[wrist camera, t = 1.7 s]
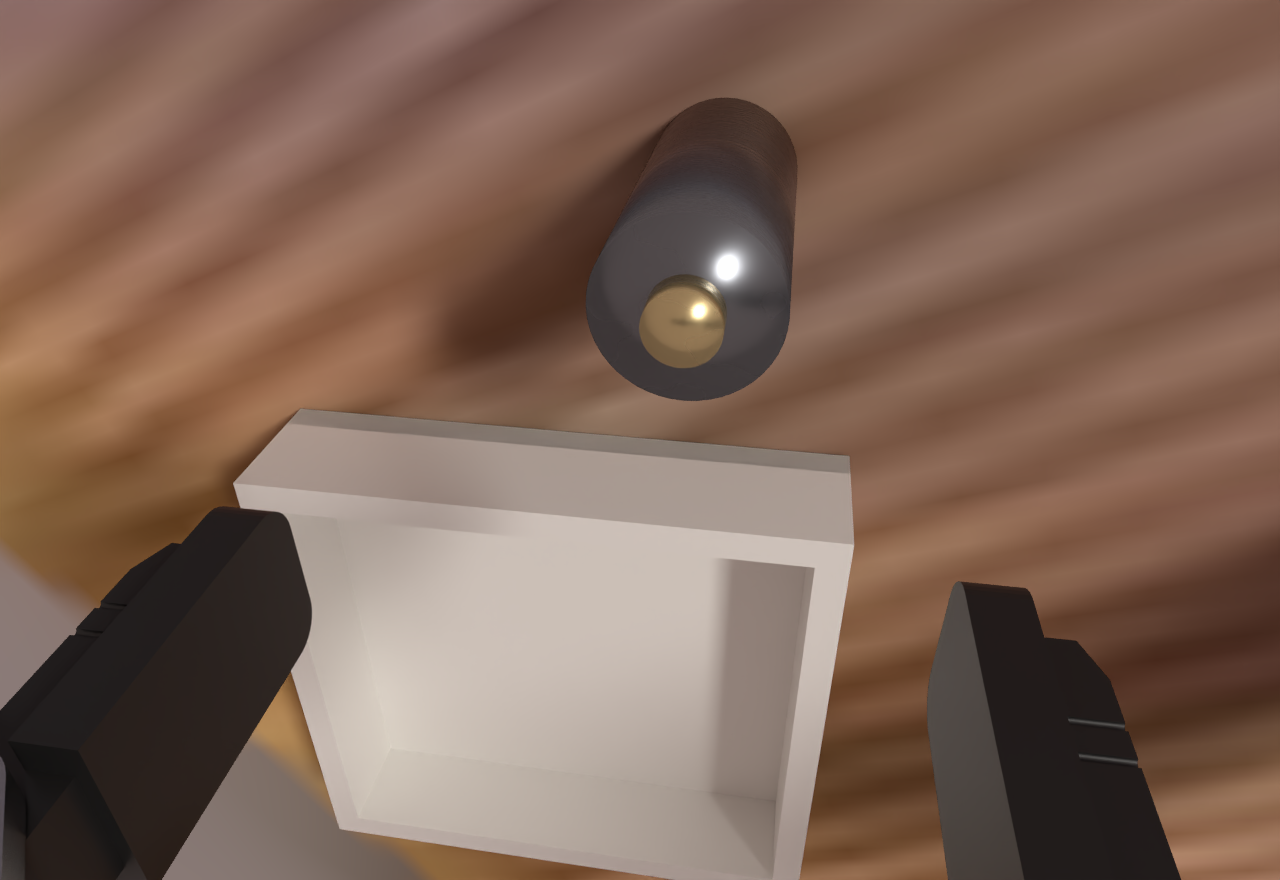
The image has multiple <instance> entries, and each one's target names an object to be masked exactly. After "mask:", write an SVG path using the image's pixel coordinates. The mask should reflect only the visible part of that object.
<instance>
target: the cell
mask: <svg viewBox="0 0 1280 880" xmlns="http://www.w3.org/2000/svg"><path fill="white" fill-rule="evenodd" d="M796 188H797V159H796V154H795V150H794V146H793V144H792V141H791V139H790V137H789V135H788V134H787V132H786V130H785V129H784V127H783V126H782V125H781V123H780V122H779V121H778V120H777V119H776V118H775V117H774V116H773V115H771V114H770V113H769V112H768V111H766V110H765V109H763V108H761V107H760V106H758V105H756V104H753V103H751V102H748V101H745V100H741V99H735V98H715V99H709V100H706V101H702V102H699V103H697V104H695V105H693V106H691V107H689V108H687V109H686V110H684V111H683V112H681V113H680V114H679V115H678V116H677V117H675V118H674V119H673V121H672V122H671V123H670V124H669V125H668V126H667V128H666V129H665V131H664V132H663V134H662V136H661V137H660V139H659V141H658V143H657V145H656V147H655V149H654V151H653V153H652V155H651V157H650V159H649V161H648V163H647V165H646V166H645V168H644V170H643V172H642V174H641V176H640V178H639V180H638V182H637V184H636V186H635V188H634V190H633V192H632V194H631V195H630V197H629V199H628V201H627V203H626V205H625V207H624V209H623V211H622V213H621V215H620V217H619V219H618V221H617V223H616V224H615V226H614V228H613V230H612V232H611V234H610V236H609V238H608V240H607V242H606V244H605V246H604V248H603V250H602V251H601V253H600V255H599V257H598V259H597V261H596V263H595V265H594V267H593V269H592V272H591V275H590V278H589V281H588V286H587V292H586V313H587V320H588V324H589V328H590V331H591V333H592V336H593V338H594V341H595V343H596V345H597V346H598V348H599V350H600V352H601V353H602V355H603V356H604V357H605V359H606V360H607V361H608V363H609V364H610V365H611V366H612V367H613V368H614V369H615V370H616V371H617V372H618V373H619V374H621V375H622V376H623V377H624V378H625V379H627V380H628V381H630V382H631V383H633V384H634V385H636V386H638V387H640V388H642V389H644V390H646V391H648V392H650V393H653V394H656V395H658V396H662V397H666V398H670V399H676V400H684V401H700V400H709V399H714V398H719V397H723V396H726V395H729V394H732V393H734V392H736V391H738V390H740V389H742V388H744V387H746V386H747V385H749V384H750V383H752V382H753V381H755V380H756V379H757V378H758V377H760V376H761V375H762V374H763V373H764V372H765V371H766V370H767V369H768V368H769V366H770V365H771V364H772V363H773V361H774V360H775V358H776V357H777V355H778V354H779V352H780V350H781V348H782V346H783V344H784V341H785V338H786V334H787V331H788V325H789V319H790V301H791V282H792V263H793V245H794V226H795V207H796Z"/></svg>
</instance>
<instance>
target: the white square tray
mask: <svg viewBox="0 0 1280 880" xmlns="http://www.w3.org/2000/svg"><path fill="white" fill-rule="evenodd" d="M233 485H234V488H235V491H236V494H237V498H238V501H239V504H240V507H241V508H244V509H255V510H265V511H275V512H280V513H282V514H283V515H284V516H285V517H286V518H287V520H288V521H289V524H290V527H291V530H292V534H293V537H294V541H295V545H296V548H297V552H298V555H299V559H300V563H301V566H302V570H303V574H304V577H305V581H306V585H307V588H308V592H309V596H310V599H311V604H312V623H311V629H310V633H309V637H308V640H307V643H306V645H305V648H304V650H303V652H302V654H301V655H300V657H299V659H298V660H297V662H296V663H295V665H294V667H293V668H292V670H291V673H292V676H293V679H294V682H295V686H296V689H297V692H298V695H299V699H300V702H301V705H302V708H303V712H304V715H305V718H306V721H307V725H308V728H309V731H310V734H311V738H312V741H313V744H314V747H315V751H316V754H317V757H318V760H319V764H320V767H321V770H322V773H323V777H324V780H325V783H326V786H327V790H328V793H329V796H330V799H331V803H332V806H333V809H334V812H335V815H336V819H337V822H338V825H339V828H340V829H343V830H349V831H356V832H362V833H369V834H376V835H382V836H389V837H395V838H402V839H409V840H415V841H422V842H428V843H435V844H441V845H448V846H455V847H461V848H468V849H474V850H481V851H488V852H494V853H501V854H507V855H514V856H521V857H527V858H534V859H540V860H547V861H554V862H560V863H567V864H573V865H580V866H586V867H593V868H600V869H606V870H613V871H619V872H626V873H633V874H639V875H646V876H652V877H659V878H666V879H672V880H799V877H800V871H801V865H802V859H803V853H804V847H805V840H806V834H807V828H808V822H809V816H810V810H811V804H812V798H813V792H814V786H815V780H816V774H817V768H818V761H819V755H820V749H821V743H822V737H823V731H824V725H825V719H826V713H827V707H828V701H829V695H830V689H831V682H832V676H833V670H834V664H835V658H836V652H837V646H838V640H839V634H840V628H841V622H842V616H843V610H844V603H845V597H846V591H847V585H848V579H849V573H850V567H851V561H852V555H853V549H854V533H853V514H852V495H851V477H850V458H849V456H843V455H831V454H820V453H808V452H797V451H785V450H773V449H762V448H750V447H739V446H727V445H715V444H704V443H692V442H681V441H669V440H658V439H646V438H634V437H623V436H611V435H600V434H588V433H576V432H565V431H553V430H542V429H530V428H519V427H507V426H495V425H484V424H472V423H461V422H449V421H437V420H426V419H414V418H403V417H391V416H379V415H368V414H356V413H345V412H333V411H322V410H310V409H300V410H299V411H298V412H297V413H296V414H295V415H294V416H293V417H292V419H291V420H290V421H289V422H288V423H287V424H286V425H285V426H284V427H283V429H282V430H281V431H280V432H279V433H278V434H277V435H276V436H275V437H274V438H273V440H272V441H271V442H270V443H269V444H268V445H267V446H266V447H265V448H264V450H263V451H262V452H261V453H260V454H259V455H258V456H257V457H256V458H255V459H254V461H253V462H252V463H251V464H250V465H249V466H248V467H247V468H246V469H245V471H244V472H243V473H242V474H241V475H240V476H239V477H238V478H237V479H236V480H235V482H234V483H233Z"/></svg>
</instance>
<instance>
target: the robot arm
mask: <svg viewBox="0 0 1280 880" xmlns="http://www.w3.org/2000/svg"><path fill="white" fill-rule="evenodd" d="M311 623H312V604H311V599H310V596H309V592H308V588H307V585H306V581H305V577H304V574H303V570H302V566H301V563H300V559H299V555H298V552H297V548H296V545H295V541H294V537H293V534H292V530H291V527H290V524H289V521H288V520H287V518H286V517H285V516H284V515H283V514H282V513H280V512H275V511H265V510H255V509H244V508H234V507H224V506H223V507H217V508H215V509H213V510H212V511H210V512H209V513H208V514H207V515H206V516H205V518H204V519H203V520H202V521H201V522H200V523H199V524H198V526H197V527H196V528H195V529H194V530H193V531H192V532H191V533H190V535H189V536H188V537H187V538H186V539H185V540H184V541H183V542H182V544H176V543H171V544H170V545H168V546H166V547H165V548H163V549H162V550H160V551H159V552H157V553H155V554H154V555H152V556H151V557H149V558H148V559H146V560H144V561H143V562H141V563H140V564H138V565H137V566H135V567H133V568H132V569H130V570H129V572H128V573H127V574H126V575H125V576H124V577H123V578H122V579H121V580H120V581H119V582H118V583H117V585H116V586H115V587H114V588H113V589H112V590H111V591H110V592H109V593H108V594H107V595H106V596H105V598H104V599H103V600H102V601H101V606H100V608H94V609H93V611H92V612H91V613H90V614H89V615H88V616H87V617H86V618H85V619H84V620H83V621H82V622H81V624H80V625H79V626H78V627H77V628H76V634H75V635H74V636H73V635H69V637H68V638H67V639H66V640H65V641H64V642H63V643H62V644H61V645H60V647H58V649H57V650H56V651H55V652H54V653H53V654H52V655H51V656H50V657H49V658H48V659H47V660H46V661H45V663H44V664H43V665H42V666H41V667H40V668H39V669H38V670H37V671H36V673H34V675H33V676H32V677H31V678H30V679H29V680H28V681H27V682H26V683H25V684H24V685H23V686H22V688H21V689H20V690H19V691H18V692H17V693H16V694H15V695H14V696H13V697H12V698H11V699H10V700H9V702H8V703H7V704H6V705H5V706H4V707H3V708H2V709H1V710H0V880H162V878H163V877H164V875H165V873H166V871H167V870H168V869H169V867H170V865H171V864H172V862H173V861H174V859H175V857H176V856H177V854H178V852H179V851H180V849H181V847H182V846H183V844H184V843H185V841H186V840H187V838H188V836H189V835H190V833H191V831H192V830H193V828H194V827H195V825H196V823H197V822H198V820H199V818H200V817H201V815H202V814H203V812H204V810H205V809H206V807H207V806H208V804H209V802H210V801H211V799H212V797H213V796H214V794H215V792H216V791H217V789H218V788H219V786H220V785H221V783H222V781H223V780H224V778H225V777H226V775H227V773H228V772H229V770H230V768H231V767H232V765H233V763H234V762H235V760H236V758H237V757H238V755H239V754H240V752H241V751H242V749H243V747H244V746H245V744H246V743H247V741H248V739H249V738H250V736H251V734H252V733H253V731H254V730H255V728H256V726H257V725H258V723H259V722H260V720H261V718H262V717H263V715H264V713H265V712H266V710H267V709H268V707H269V705H270V704H271V702H272V701H273V699H274V697H275V696H276V694H277V692H278V691H279V689H280V688H281V686H282V684H283V683H284V681H285V680H286V678H287V676H288V675H289V673H290V671H291V670H292V668H293V667H294V665H295V663H296V662H297V660H298V659H299V657H300V655H301V654H302V652H303V650H304V648H305V645H306V643H307V640H308V637H309V633H310V629H311ZM927 723H928V733H929V741H930V748H931V756H932V763H933V770H934V778H935V785H936V793H937V800H938V808H939V815H940V823H941V830H942V838H943V845H944V853H945V860H946V868H947V875H948V880H1181V878H1180V875H1179V872H1178V870H1177V867H1176V864H1175V861H1174V858H1173V856H1172V853H1171V850H1170V847H1169V844H1168V842H1167V839H1166V836H1165V833H1164V830H1163V828H1162V825H1161V822H1160V819H1159V816H1158V814H1157V811H1156V808H1155V805H1154V802H1153V799H1152V797H1151V794H1150V791H1149V788H1148V785H1147V783H1146V780H1145V777H1144V774H1143V771H1142V769H1141V768H1138V765H1137V761H1138V757H1137V755H1136V752H1135V749H1134V746H1133V743H1132V741H1131V738H1130V735H1129V732H1127V731H1125V721H1124V718H1123V715H1122V713H1121V710H1120V707H1119V704H1118V701H1117V699H1116V696H1115V693H1114V690H1113V687H1112V685H1111V682H1110V680H1109V678H1108V677H1107V676H1106V675H1105V674H1104V673H1103V671H1102V670H1101V669H1100V668H1099V667H1098V666H1097V664H1096V663H1095V662H1094V661H1093V660H1092V659H1091V657H1090V656H1089V655H1088V654H1087V653H1086V652H1085V650H1084V649H1083V648H1082V647H1081V646H1080V645H1079V643H1078V642H1077V641H1073V640H1063V639H1054V638H1044V635H1043V632H1042V629H1041V625H1040V622H1039V618H1038V615H1037V612H1036V608H1035V605H1034V601H1033V598H1032V596H1031V594H1030V592H1029V591H1028V590H1027V589H1026V588H1019V587H1009V586H999V585H989V584H979V583H969V582H956V583H955V585H954V586H953V589H952V591H951V595H950V598H949V602H948V606H947V610H946V614H945V618H944V622H943V626H942V630H941V634H940V638H939V642H938V646H937V650H936V654H935V658H934V662H933V665H932V669H931V674H930V679H929V686H928V697H927Z"/></svg>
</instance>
